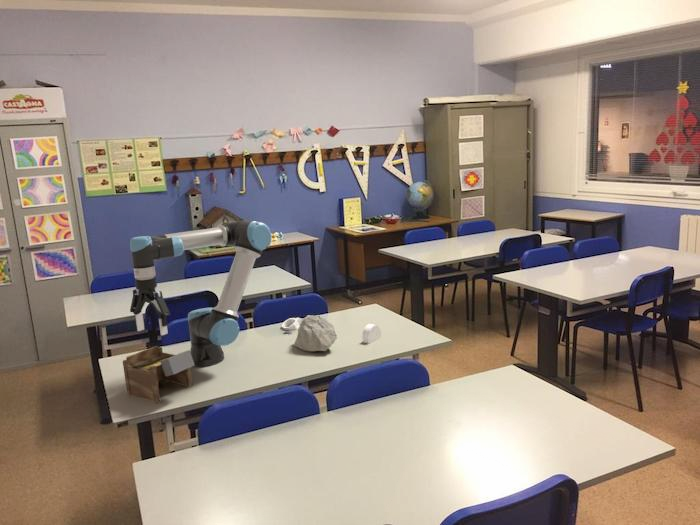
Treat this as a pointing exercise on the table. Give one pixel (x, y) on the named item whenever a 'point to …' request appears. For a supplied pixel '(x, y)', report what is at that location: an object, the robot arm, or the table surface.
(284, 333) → the rock
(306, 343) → the grey boulder
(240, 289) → the robot arm
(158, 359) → the stone
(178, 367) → the trapdoor
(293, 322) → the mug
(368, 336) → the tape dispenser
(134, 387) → the wooden box
